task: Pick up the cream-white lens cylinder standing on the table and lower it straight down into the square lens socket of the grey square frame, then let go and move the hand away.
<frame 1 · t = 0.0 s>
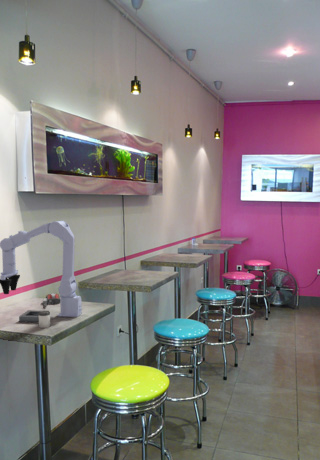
hand: (9, 292, 199), 10 cm above the table, tool pointing down, fingers open, 7 cm apart
grey square frame: (34, 319, 190), on the table
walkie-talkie: (51, 304, 219), on the table
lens: (44, 326, 180), on the table
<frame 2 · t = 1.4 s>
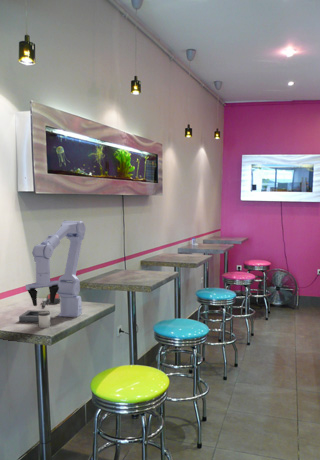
hand: (43, 304, 179), 9 cm above the table, tool pointing down, fingers open, 7 cm apart
nothing on the table moved.
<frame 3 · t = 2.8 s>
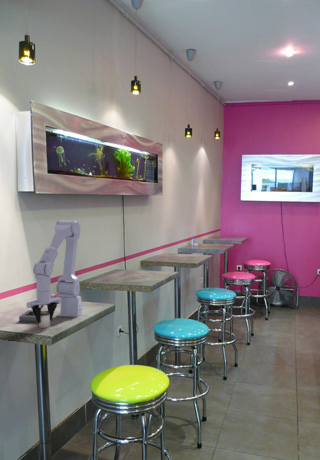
hand: (44, 321, 180), 2 cm above the table, tool pointing down, fingers closed on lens, 5 cm apart
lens: (44, 326, 180), on the table, touching gripper
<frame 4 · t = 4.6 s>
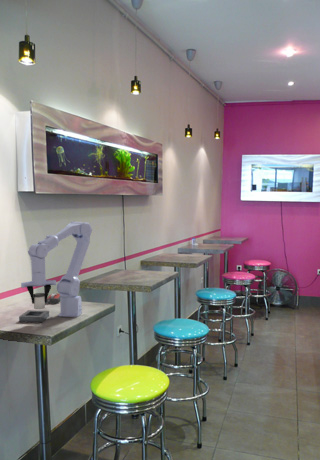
hand: (39, 302, 184), 9 cm above the table, tool pointing down, fingers closed on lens, 5 cm apart
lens: (39, 307, 184), point 7 cm above the table, touching gripper
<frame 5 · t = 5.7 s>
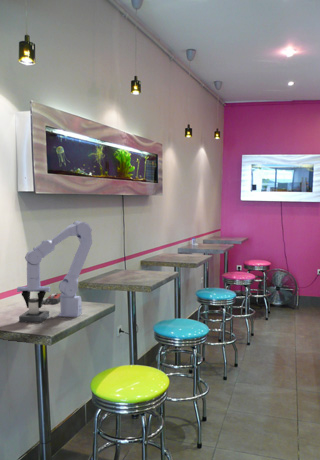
hand: (34, 307, 190), 5 cm above the table, tool pointing down, fingers closed on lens, 5 cm apart
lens: (34, 312, 189), point 3 cm above the table, touching gripper
when the fingers open (3 cm above the table, at t = 6.6 s): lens stays where it is, resting in grey square frame.
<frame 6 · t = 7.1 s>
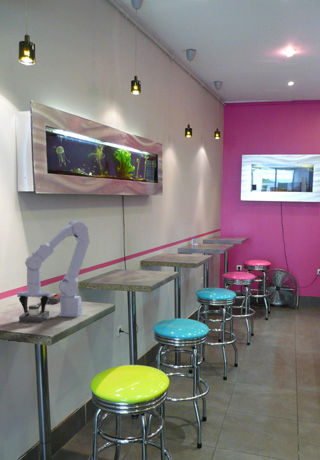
hand: (34, 312, 190), 3 cm above the table, tool pointing down, fingers open, 7 cm apart
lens: (34, 319, 190), resting in grey square frame
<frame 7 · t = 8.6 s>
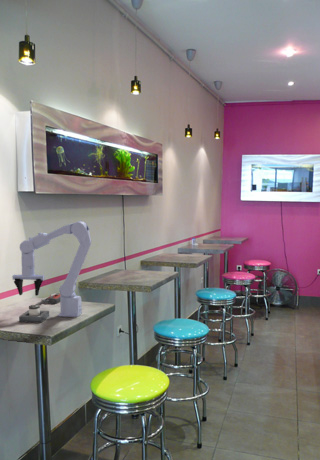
hand: (28, 294, 196), 9 cm above the table, tool pointing down, fingers open, 7 cm apart
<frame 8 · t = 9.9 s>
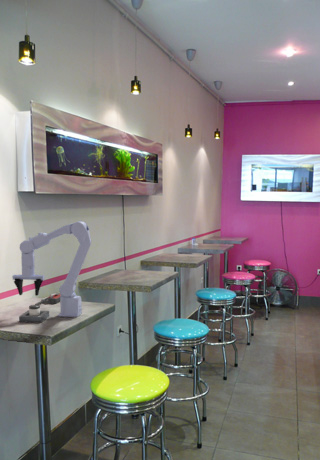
hand: (28, 294, 196), 9 cm above the table, tool pointing down, fingers open, 7 cm apart
at the end: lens 0.4 cm off-centre on the grey square frame, point 0.0 cm above the grey square frame's base; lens tilted 2°; the gripper is holding nothing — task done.
